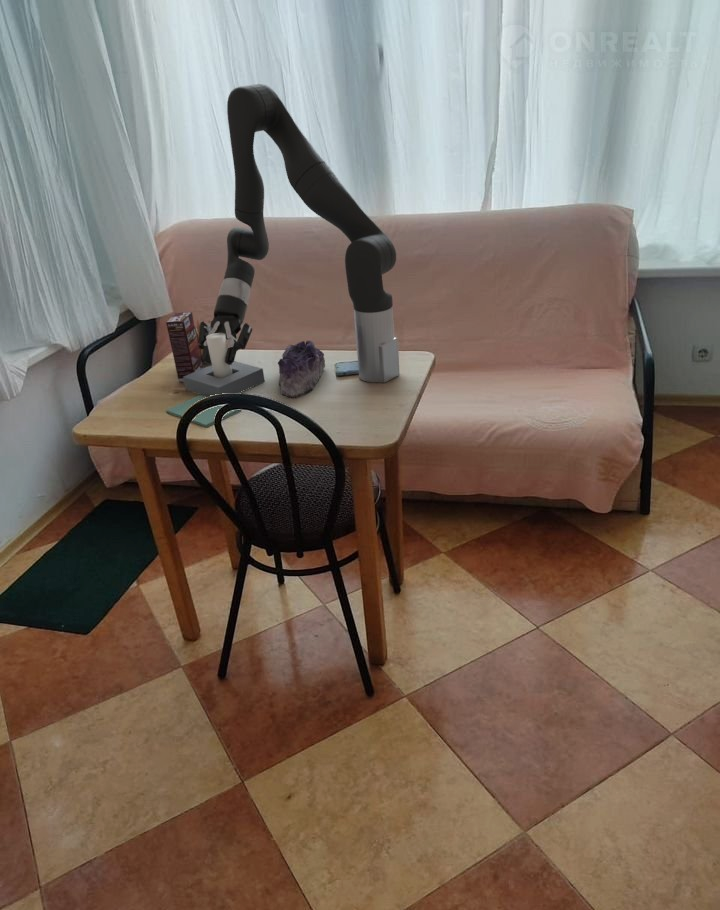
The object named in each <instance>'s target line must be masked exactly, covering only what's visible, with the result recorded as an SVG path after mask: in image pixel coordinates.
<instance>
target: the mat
mask: <svg viewBox="0 0 720 910" xmlns="http://www.w3.org/2000/svg"><path fill="white" fill-rule="evenodd" d="M205 397H206V396H204V395H200V394H198V395H197V396H195V397H192V398H190V399H189V400H185V401H183V402H181V403H179V404H177V405H174V406H172V407H169V408H167V409H166V410H165V411H166V412H165V413H167V414H170V415H173V416H176V417H179V418H180V419H182V418H181V417H182V416H183V414H184V413H185V412H186V410H187V409H188V408H189V407H190V406H191V405H193V404H194V403H195V402H197V401H198V400H201V399H203V398H205ZM221 407H223V406H217V407H214V408H211V409H208V410H206V411H204V412H202V413H201V414H199V415H197V416H196V418H195V419H194V420H193V421H192V423H194V424H197V425H199V426H202V427H205V428H208V427H210V426H212V425H215V423H214V417H215V414H216V412H217V410H218V409H220V408H221ZM241 411H242V409H241V410H234V411H230V412H229V413H227V414H226V415H225V416H224V417H223V420H224V419H227V418H229V417H232V416H233V415H235V414H238V413H240V412H241Z"/></svg>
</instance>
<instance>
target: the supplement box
mask: <svg viewBox="0 0 720 910" xmlns="http://www.w3.org/2000/svg"><path fill="white" fill-rule="evenodd" d="M165 324H166V325H165V326H166V329H167V332H168V333H167V334H168V339H169V343H170V347H171V351H172V355H173V360H174V365H175V370H176V374H177V375H176V376H177V379H178V382H180V383H181V382H183V383H184V379H183V377H184V376H186V375H189V374H191V373H194V372H196V371H199V370H201V369H203V368H204V366H203V363H202V360H201V355H200V350H199V345H198V340H197V336H196V331H197V330H196V331H195V327H196V325H195V326H194V324H195V321H194V316H193V312H192V311H191V312H189V311H186V312H175V313H174V315H173V316H171V318H170V319H168V320H167V321H166V323H165Z"/></svg>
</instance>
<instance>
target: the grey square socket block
mask: <svg viewBox="0 0 720 910" xmlns="http://www.w3.org/2000/svg"><path fill="white" fill-rule="evenodd" d="M231 368H232V373H233V374H231V375H229V376H227V377H224V378H222V379H220V378H217V377H214V374H213V369H212V364H211V365H208V366H206V367H203V369H201V370H199V371H196V372H194V373H191V374H189V375H186V376H184V377H183V379H184V382H183V384H184V387H185V388H184V389H185V390H186V391H188V392H191V393H194V394H198V395H202V396H205V397H207V396H210V395H215V394H222V393H238V394H240V393H242V392H241V391H243V390H245V391H247V390H249V389H251V388H250V387H252V388H253V386H254V387H256V386H257V385H260V384H263V383H264V382H266V380H265V375H264V368H263V367H258V366H255V365H252V364H248V363H244V362H243V363H242V362H239V361H235V360H234V362H233V363H232V364H231ZM248 388H249V389H248ZM246 389H247V390H246ZM243 392H244V391H243Z"/></svg>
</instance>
